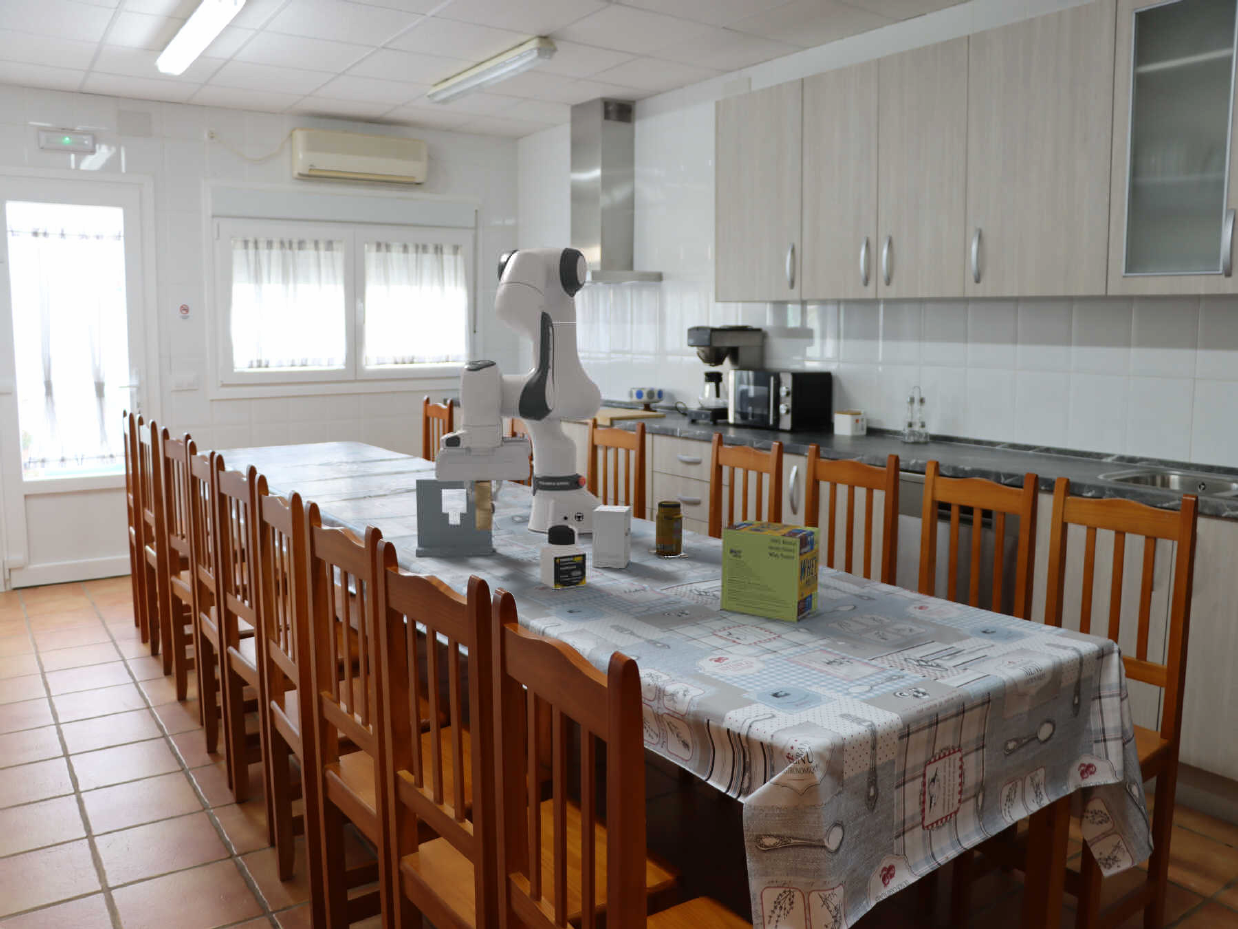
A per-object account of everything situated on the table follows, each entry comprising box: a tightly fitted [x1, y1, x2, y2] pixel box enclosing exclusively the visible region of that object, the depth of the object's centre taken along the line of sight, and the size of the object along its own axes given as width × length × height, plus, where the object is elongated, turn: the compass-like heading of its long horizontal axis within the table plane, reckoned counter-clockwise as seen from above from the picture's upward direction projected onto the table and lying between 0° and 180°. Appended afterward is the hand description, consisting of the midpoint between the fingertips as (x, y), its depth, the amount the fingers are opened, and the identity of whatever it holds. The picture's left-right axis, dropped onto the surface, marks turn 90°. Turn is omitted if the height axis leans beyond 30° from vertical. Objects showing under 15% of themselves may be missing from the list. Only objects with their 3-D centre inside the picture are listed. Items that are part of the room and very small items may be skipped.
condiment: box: [648, 500, 691, 559], centre depth 224 cm, size 7×8×12 cm
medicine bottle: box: [540, 525, 587, 590], centre depth 197 cm, size 7×7×12 cm
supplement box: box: [592, 505, 632, 569], centre depth 214 cm, size 7×7×13 cm
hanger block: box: [475, 481, 496, 530], centre depth 212 cm, size 4×10×10 cm, turn 4°
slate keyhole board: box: [415, 478, 494, 557], centre depth 225 cm, size 17×8×17 cm, turn 94°
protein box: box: [720, 519, 821, 623], centre depth 180 cm, size 10×15×16 cm
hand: (483, 500), depth 210 cm, fingers closed on hanger block, 3 cm apart
